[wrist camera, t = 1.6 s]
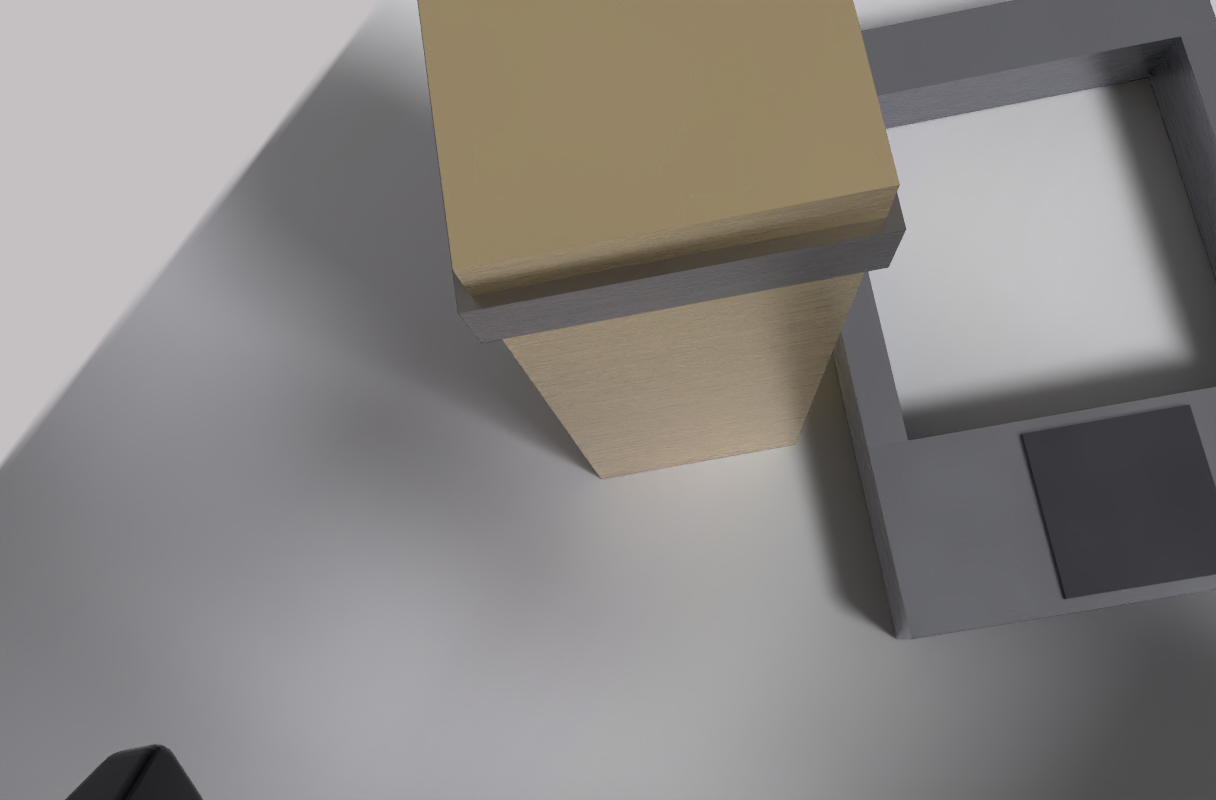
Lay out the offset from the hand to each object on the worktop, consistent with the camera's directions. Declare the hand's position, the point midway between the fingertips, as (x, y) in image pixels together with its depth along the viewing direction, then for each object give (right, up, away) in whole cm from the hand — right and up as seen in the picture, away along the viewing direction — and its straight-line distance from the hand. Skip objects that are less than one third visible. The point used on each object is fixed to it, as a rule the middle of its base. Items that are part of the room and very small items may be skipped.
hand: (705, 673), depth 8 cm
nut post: (+1, +3, +13) cm, 13 cm away
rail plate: (+8, +4, +12) cm, 15 cm away
